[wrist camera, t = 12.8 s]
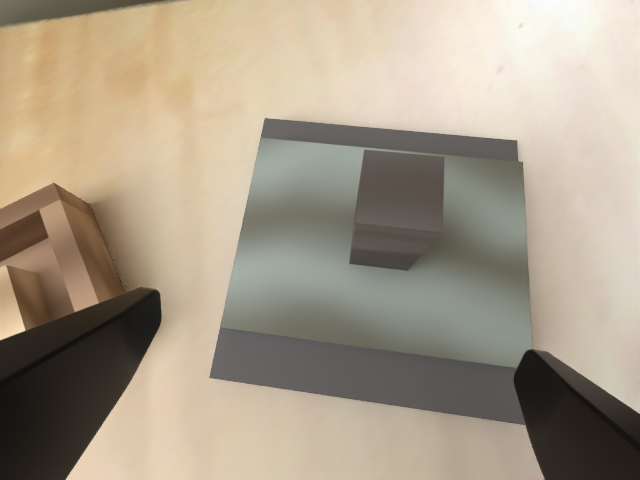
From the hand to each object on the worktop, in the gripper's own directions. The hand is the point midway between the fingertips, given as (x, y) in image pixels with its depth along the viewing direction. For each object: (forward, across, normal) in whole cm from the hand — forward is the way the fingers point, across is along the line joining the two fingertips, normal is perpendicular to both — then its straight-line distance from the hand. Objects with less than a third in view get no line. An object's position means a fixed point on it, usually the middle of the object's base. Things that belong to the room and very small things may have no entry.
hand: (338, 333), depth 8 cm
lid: (+11, -2, +3) cm, 12 cm away
